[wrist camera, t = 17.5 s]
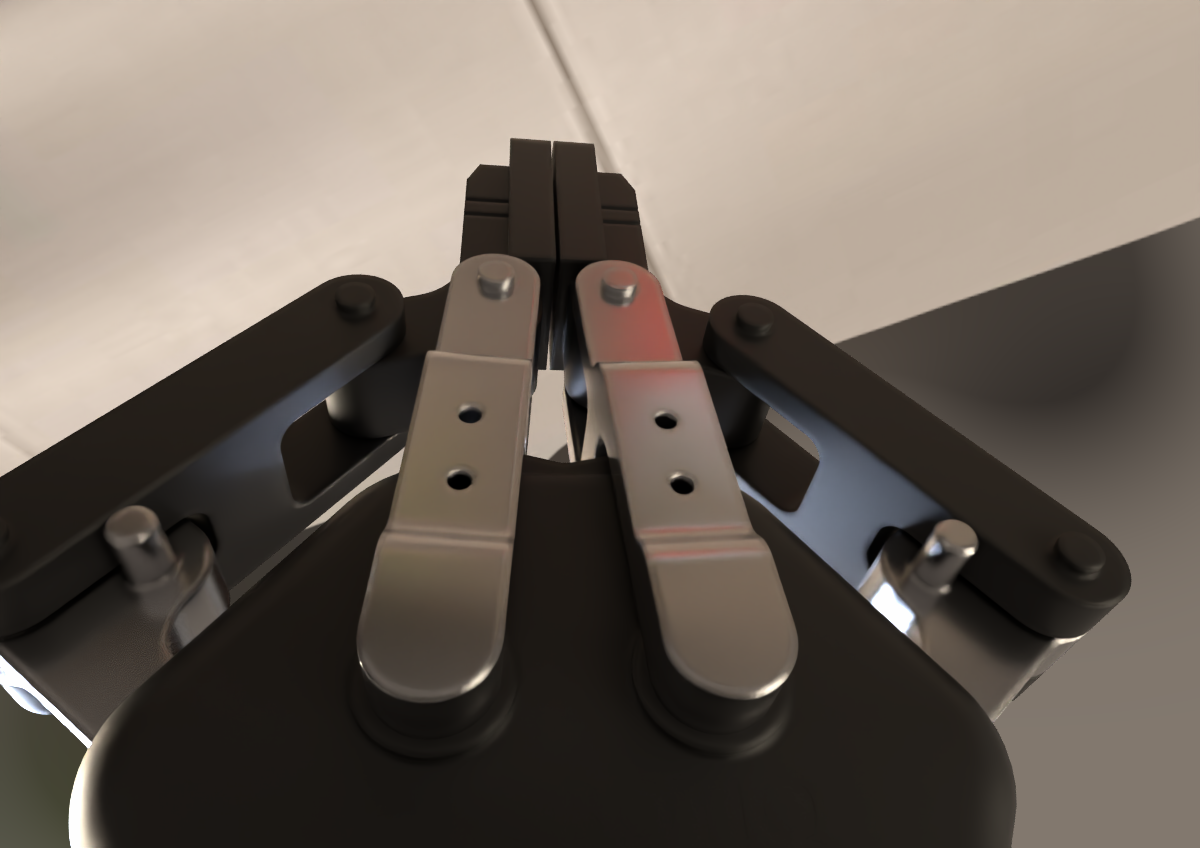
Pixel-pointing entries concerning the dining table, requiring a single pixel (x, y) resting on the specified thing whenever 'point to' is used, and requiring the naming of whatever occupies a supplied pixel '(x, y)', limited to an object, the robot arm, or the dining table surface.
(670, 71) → the dining table surface
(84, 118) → the dining table surface
